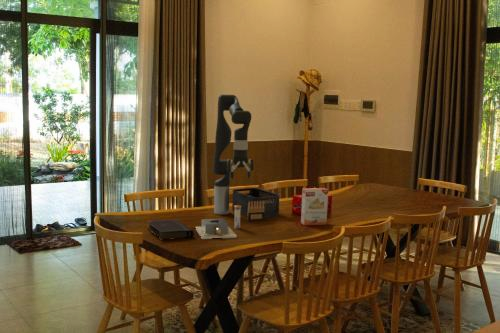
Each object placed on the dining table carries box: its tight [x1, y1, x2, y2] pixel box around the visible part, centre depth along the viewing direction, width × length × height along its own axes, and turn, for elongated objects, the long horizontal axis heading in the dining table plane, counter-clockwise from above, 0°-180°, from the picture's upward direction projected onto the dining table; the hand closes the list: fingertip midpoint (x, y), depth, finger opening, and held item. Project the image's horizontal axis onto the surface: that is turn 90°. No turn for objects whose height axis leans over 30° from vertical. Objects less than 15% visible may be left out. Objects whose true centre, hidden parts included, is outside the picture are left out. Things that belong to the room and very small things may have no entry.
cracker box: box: [300, 187, 329, 226], centre depth 325 cm, size 14×6×21 cm, turn 105°
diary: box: [146, 219, 195, 239], centre depth 298 cm, size 19×25×5 cm
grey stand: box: [195, 218, 238, 240], centre depth 300 cm, size 22×18×6 cm
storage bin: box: [231, 187, 280, 219], centre depth 351 cm, size 29×19×13 cm
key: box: [233, 205, 241, 230], centre depth 312 cm, size 4×4×12 cm
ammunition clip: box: [246, 199, 266, 222], centre depth 331 cm, size 11×2×12 cm, turn 111°
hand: (239, 178), depth 302 cm, fingers open, 8 cm apart
